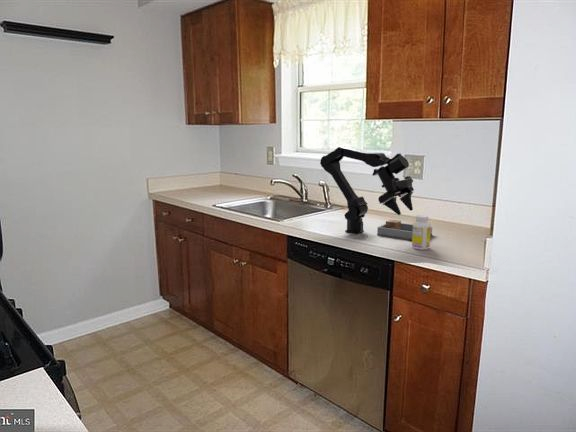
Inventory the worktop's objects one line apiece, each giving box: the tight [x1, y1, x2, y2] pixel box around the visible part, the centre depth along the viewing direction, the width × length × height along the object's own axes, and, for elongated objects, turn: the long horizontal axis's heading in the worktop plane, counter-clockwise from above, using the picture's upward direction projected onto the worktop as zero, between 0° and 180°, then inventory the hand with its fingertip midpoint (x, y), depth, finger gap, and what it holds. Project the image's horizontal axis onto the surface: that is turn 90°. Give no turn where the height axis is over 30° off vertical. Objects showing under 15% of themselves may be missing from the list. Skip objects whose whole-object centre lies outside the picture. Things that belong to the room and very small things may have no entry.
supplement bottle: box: [411, 214, 432, 251], centre depth 169 cm, size 7×7×13 cm
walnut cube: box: [385, 218, 402, 230], centre depth 193 cm, size 5×5×5 cm
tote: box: [376, 222, 433, 241], centre depth 190 cm, size 20×14×4 cm
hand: (405, 212), depth 179 cm, fingers open, 9 cm apart
